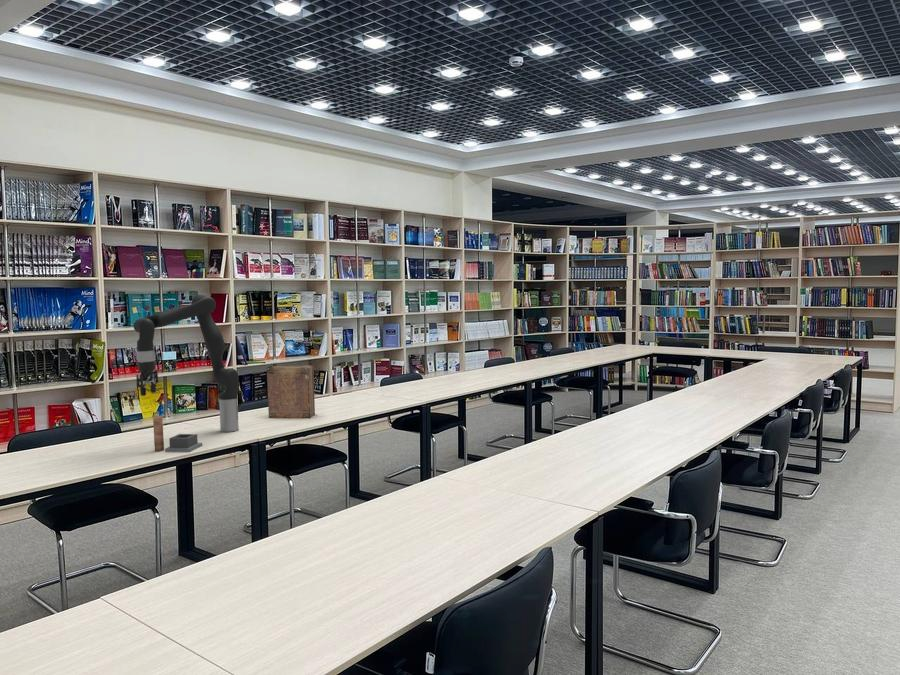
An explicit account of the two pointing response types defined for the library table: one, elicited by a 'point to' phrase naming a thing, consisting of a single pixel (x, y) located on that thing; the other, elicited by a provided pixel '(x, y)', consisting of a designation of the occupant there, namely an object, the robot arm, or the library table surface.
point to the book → (290, 391)
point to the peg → (158, 433)
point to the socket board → (183, 443)
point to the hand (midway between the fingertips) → (148, 394)
